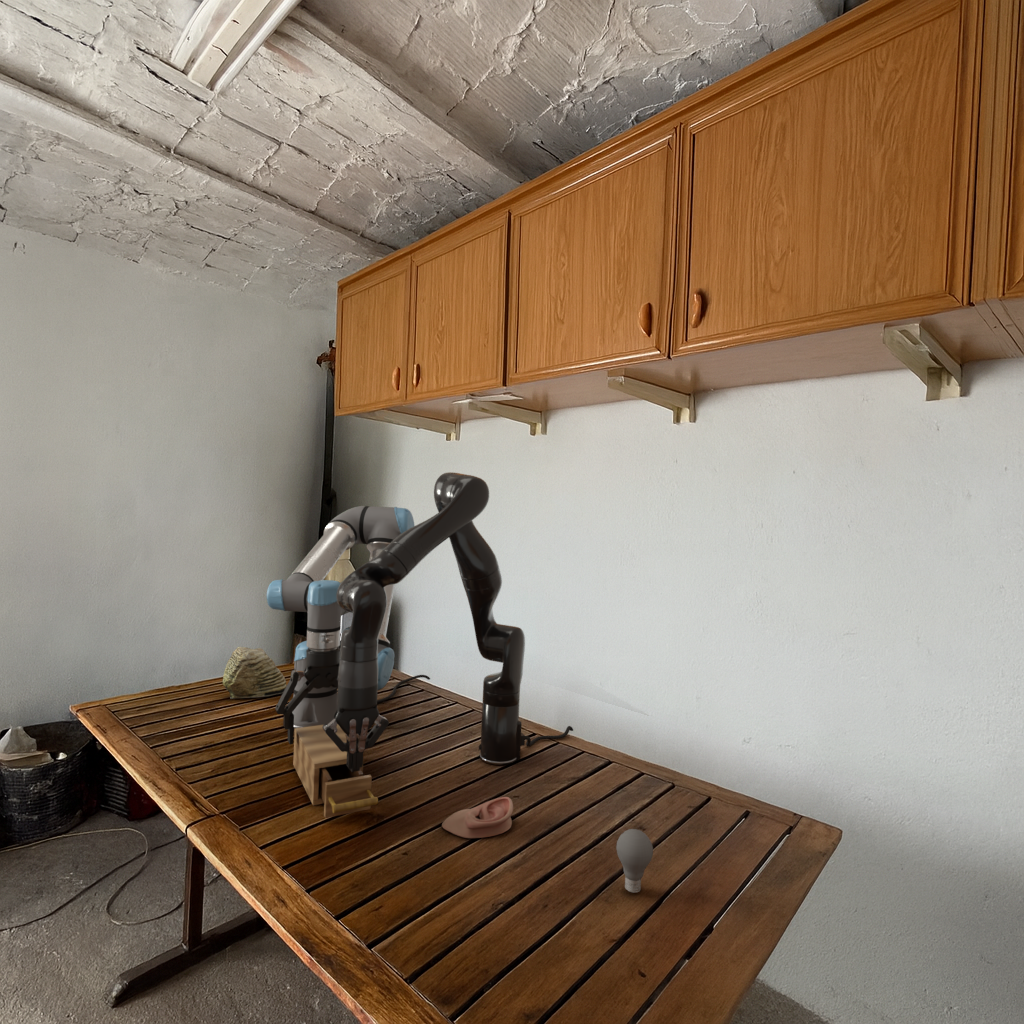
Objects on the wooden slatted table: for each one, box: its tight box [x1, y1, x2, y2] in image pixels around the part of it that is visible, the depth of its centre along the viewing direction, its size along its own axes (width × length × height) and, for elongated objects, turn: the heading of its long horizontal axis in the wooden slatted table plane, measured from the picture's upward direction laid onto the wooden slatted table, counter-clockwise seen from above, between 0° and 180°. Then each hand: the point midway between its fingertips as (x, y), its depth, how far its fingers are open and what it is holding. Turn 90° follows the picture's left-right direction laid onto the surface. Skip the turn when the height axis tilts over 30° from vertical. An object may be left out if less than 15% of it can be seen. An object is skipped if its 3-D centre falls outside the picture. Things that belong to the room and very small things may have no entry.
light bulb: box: [615, 828, 654, 894], centre depth 106 cm, size 6×6×10 cm
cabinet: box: [292, 724, 364, 806], centre depth 142 cm, size 22×10×9 cm, turn 29°
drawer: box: [319, 764, 379, 819], centre depth 132 cm, size 26×9×7 cm, turn 29°
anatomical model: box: [441, 796, 514, 839], centre depth 125 cm, size 13×4×12 cm
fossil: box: [222, 646, 288, 699], centre depth 198 cm, size 9×18×15 cm, turn 132°
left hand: (320, 737), depth 148 cm, fingers open, 13 cm apart
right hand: (354, 769), depth 123 cm, fingers closed
